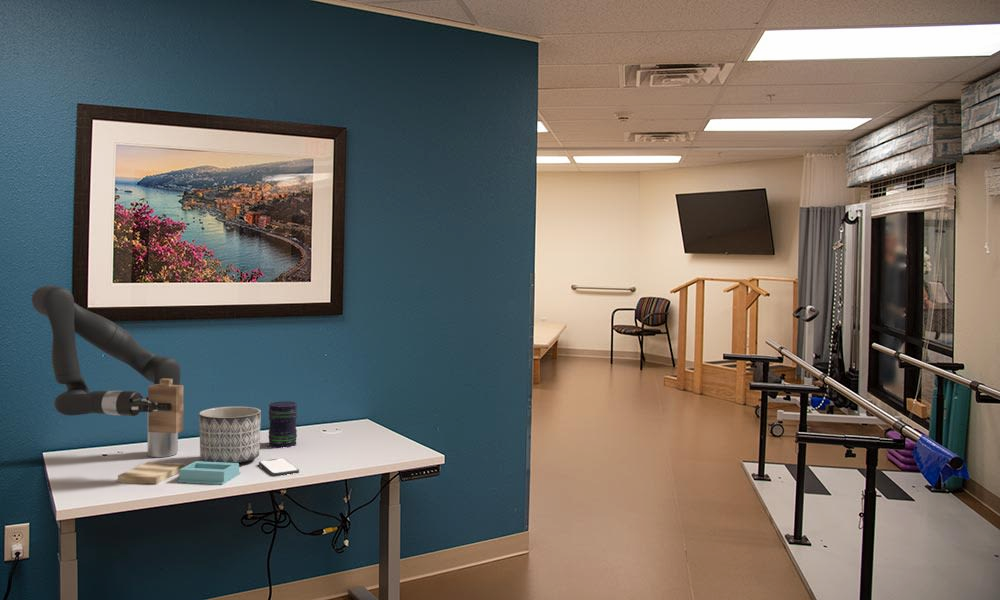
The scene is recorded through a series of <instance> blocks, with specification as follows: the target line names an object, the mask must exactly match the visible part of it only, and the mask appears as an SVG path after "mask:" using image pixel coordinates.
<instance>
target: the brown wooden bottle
mask: <svg viewBox="0 0 1000 600" xmlns="http://www.w3.org/2000/svg"><path fill="white" fill-rule="evenodd" d="M184 387H185V386H184V384H183V385H182V384H180V385H173V379H160V384H154V383H153V384H152V385H148V395H147V397H148V400H152V401H153V402H158V404H159V403H171V410H170V411H162V410H158V411H153V412H147V433H148V432H158V433H178V434H179V433H181V432H183V431H184Z"/></svg>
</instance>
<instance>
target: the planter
mask: <svg viewBox="0 0 1000 600" xmlns="http://www.w3.org/2000/svg"><path fill="white" fill-rule="evenodd" d="M261 419H262V410H261V409H259V408H257V407H251V406H221V407H213V408H207V409H204V410H201V411H200V412H199V413H198V421H199V422H198V423H199V426H198V427H199V455H200V460H201V461H204V462H224V463H240V464H243V463H242V462H244V463H245V462H248V461H250V462H251V461H252V460H255V459H257V458H258V457H259V456H260V449H261V448H260V447H261V445H260V444H261V422H262V420H261Z"/></svg>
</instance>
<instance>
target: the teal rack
mask: <svg viewBox="0 0 1000 600" xmlns="http://www.w3.org/2000/svg"><path fill="white" fill-rule="evenodd" d="M178 474H179V477H178V480H177V483H181V482H186V484H200V483H203V485H205V484H206V485H218V484H221V485H220V486H222V485H225V484H226V483H228V482H229V481H231V480H233V479H234V478H236V477H238V476H239V475H241V472H240V464H239V463H224V462H205V461H203V460H201V461H199V460H195V461H193V462H192V463H190V464H188V465H186V466H185V465H184V467H183V468H181V469H179V473H178ZM237 475H238V476H237ZM232 478H233V479H232ZM227 481H228V482H227Z"/></svg>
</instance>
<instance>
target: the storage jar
mask: <svg viewBox="0 0 1000 600" xmlns="http://www.w3.org/2000/svg"><path fill="white" fill-rule="evenodd" d="M268 407H269V408H268V420H269V430H268V442H269V443H268V447H271V448H274V447H276V448H275V449H284V448H283V447H287V448H292V447H291V446H293V447H295V446H297V437H298V436H297V435H298V434H297V431H298V430H297V417H298V410H297V402H295V401H273V402H270V403H268ZM281 447H282V448H281Z"/></svg>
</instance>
